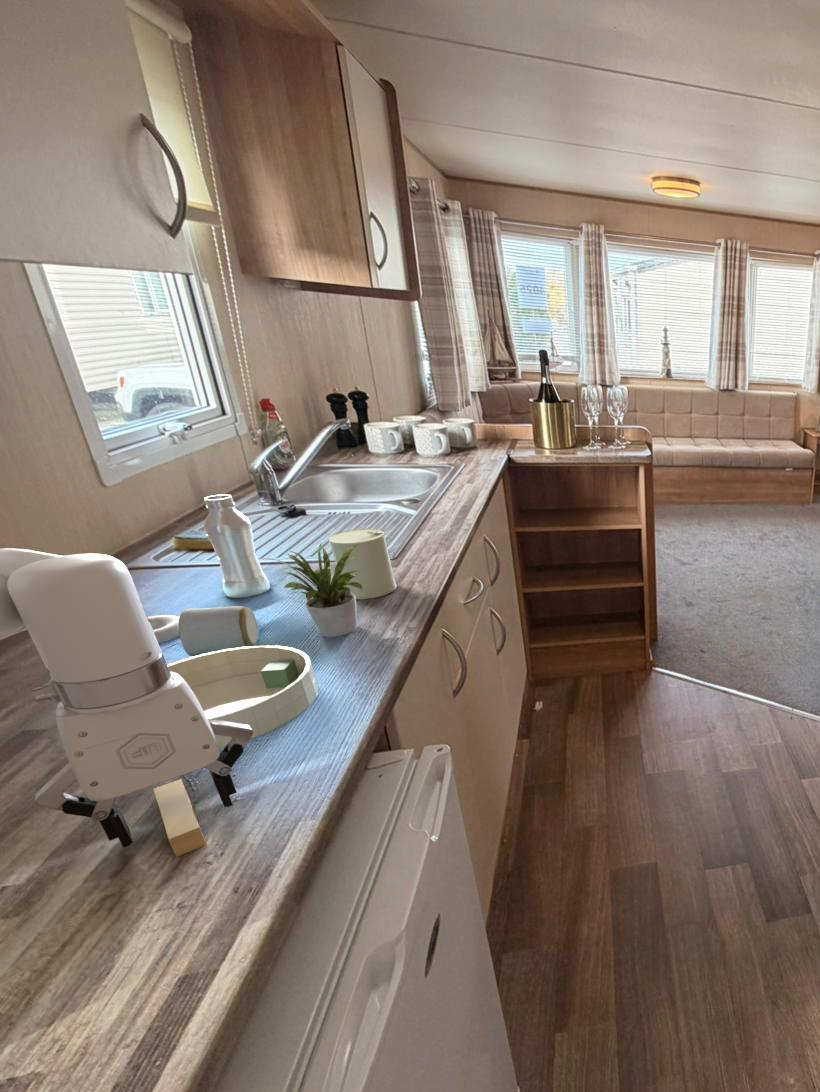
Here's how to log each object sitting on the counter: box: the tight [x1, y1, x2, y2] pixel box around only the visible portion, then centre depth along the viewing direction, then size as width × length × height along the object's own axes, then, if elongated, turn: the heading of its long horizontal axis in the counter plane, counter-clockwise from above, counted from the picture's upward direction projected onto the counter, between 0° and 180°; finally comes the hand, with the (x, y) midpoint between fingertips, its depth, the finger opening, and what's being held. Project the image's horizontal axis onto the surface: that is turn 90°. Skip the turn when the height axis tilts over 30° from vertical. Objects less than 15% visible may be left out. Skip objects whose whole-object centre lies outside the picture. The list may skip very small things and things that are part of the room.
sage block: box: [261, 660, 299, 689], centre depth 94 cm, size 3×3×3 cm
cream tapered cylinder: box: [328, 528, 398, 600], centre depth 125 cm, size 9×9×12 cm
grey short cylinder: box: [179, 605, 259, 657], centre depth 104 cm, size 11×8×8 cm
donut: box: [147, 614, 181, 649], centre depth 104 cm, size 10×4×10 cm
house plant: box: [261, 542, 362, 638], centre depth 107 cm, size 14×14×16 cm
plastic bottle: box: [203, 494, 271, 599], centre depth 117 cm, size 6×7×20 cm
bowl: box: [167, 645, 320, 750], centre depth 87 cm, size 21×21×5 cm
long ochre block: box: [152, 778, 208, 858], centre depth 69 cm, size 11×2×2 cm, turn 49°
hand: (178, 818), depth 69 cm, fingers open, 7 cm apart
